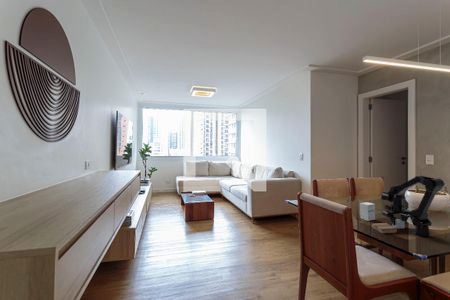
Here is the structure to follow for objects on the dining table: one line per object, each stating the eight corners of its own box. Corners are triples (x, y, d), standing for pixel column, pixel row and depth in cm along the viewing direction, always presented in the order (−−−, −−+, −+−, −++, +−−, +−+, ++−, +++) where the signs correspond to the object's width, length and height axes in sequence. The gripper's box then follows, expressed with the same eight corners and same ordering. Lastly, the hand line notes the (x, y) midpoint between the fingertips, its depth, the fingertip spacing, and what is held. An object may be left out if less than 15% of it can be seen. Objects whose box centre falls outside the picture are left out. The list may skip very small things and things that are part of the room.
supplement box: (368, 221, 174) (367, 205, 174) (360, 218, 181) (359, 202, 181) (375, 219, 176) (375, 203, 176) (367, 217, 183) (366, 201, 183)
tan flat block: (396, 232, 151) (396, 228, 151) (381, 233, 151) (381, 228, 151) (386, 227, 161) (386, 222, 161) (372, 227, 161) (372, 223, 161)
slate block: (404, 228, 157) (404, 221, 157) (397, 228, 157) (397, 221, 157) (399, 225, 162) (399, 218, 162) (392, 226, 162) (392, 219, 162)
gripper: (401, 200, 167) (402, 220, 167) (376, 201, 167) (377, 222, 168) (414, 204, 156) (415, 226, 156) (387, 205, 156) (388, 227, 157)
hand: (398, 225), depth 160 cm, fingers open, 6 cm apart
